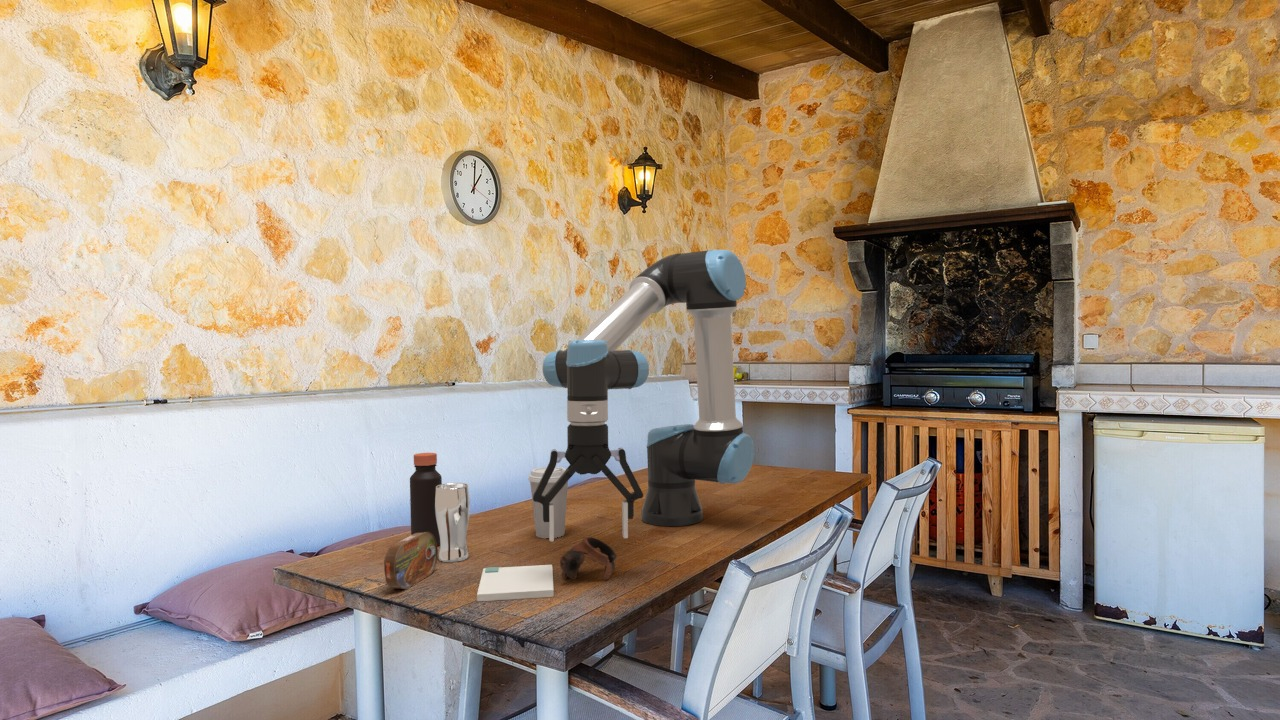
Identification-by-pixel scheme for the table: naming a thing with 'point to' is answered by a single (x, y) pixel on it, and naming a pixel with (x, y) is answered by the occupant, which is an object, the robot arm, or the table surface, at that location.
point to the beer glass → (452, 520)
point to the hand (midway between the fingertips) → (588, 538)
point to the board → (516, 583)
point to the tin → (410, 560)
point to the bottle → (424, 494)
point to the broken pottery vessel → (576, 557)
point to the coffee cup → (557, 501)
